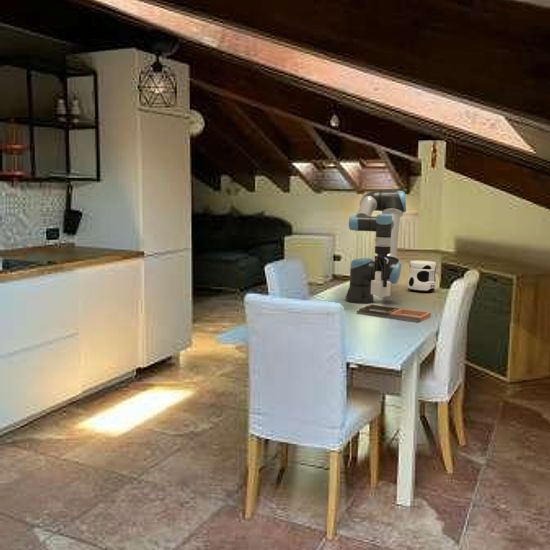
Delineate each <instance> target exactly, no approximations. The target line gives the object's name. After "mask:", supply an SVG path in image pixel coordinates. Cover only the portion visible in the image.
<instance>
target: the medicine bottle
mask: <svg viewBox="0 0 550 550" xmlns="http://www.w3.org/2000/svg"><path fill="white" fill-rule="evenodd" d="M381 279H382V271H376V272H375V280H371V294H372V295H373V297H374V296H375V297H378V298H379V297H380V298H381V297H383V298H384V297H390V296H391V285H392V284H391V282H389V281H387V294H381Z"/></svg>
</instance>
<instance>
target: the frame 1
mask: <svg viewBox="0 0 550 550" xmlns="http://www.w3.org/2000/svg"><path fill="white" fill-rule="evenodd" d="M399 309H400V308H398V307H393V306H392V307H391V306H385V305H378V304H369V305H367V306H364V307H361V308H359V309H358V311H365V312H372V313H379V314H386V315H390V313H392V312H394V311H397V310H399Z"/></svg>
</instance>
